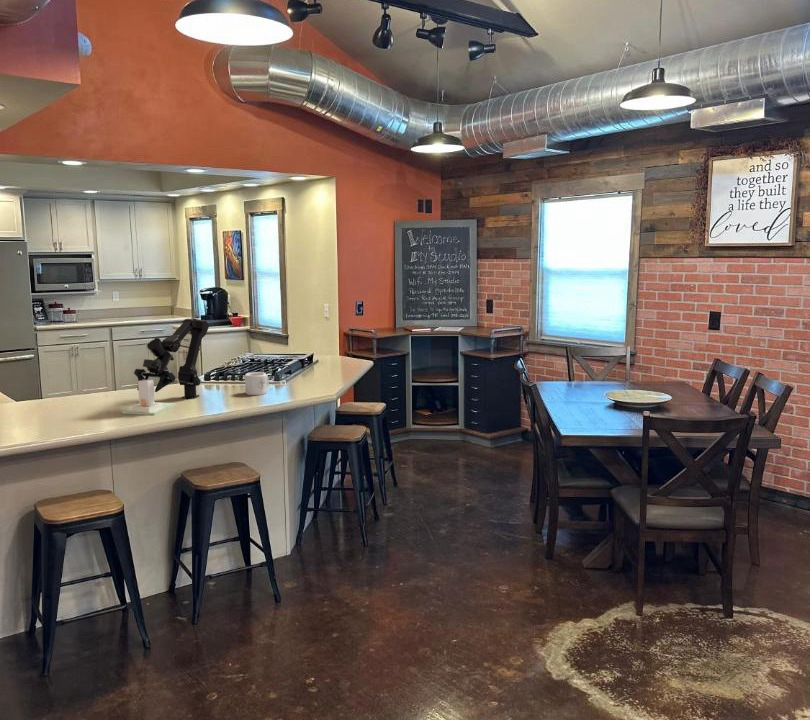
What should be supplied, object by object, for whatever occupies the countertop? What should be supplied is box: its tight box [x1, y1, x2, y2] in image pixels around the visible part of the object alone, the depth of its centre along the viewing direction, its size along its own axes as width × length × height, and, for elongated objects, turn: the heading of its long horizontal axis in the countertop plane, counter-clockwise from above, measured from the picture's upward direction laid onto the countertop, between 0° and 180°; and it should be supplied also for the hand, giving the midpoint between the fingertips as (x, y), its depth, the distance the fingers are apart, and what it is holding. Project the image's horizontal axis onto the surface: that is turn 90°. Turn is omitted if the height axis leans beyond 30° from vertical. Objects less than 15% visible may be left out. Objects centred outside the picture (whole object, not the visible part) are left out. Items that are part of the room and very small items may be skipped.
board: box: [121, 401, 176, 416], centre depth 309 cm, size 20×15×1 cm
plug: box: [137, 379, 155, 407], centre depth 303 cm, size 5×5×13 cm
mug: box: [244, 371, 269, 396], centre depth 347 cm, size 14×11×10 cm
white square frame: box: [130, 402, 163, 412], centre depth 305 cm, size 10×10×2 cm
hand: (146, 391), depth 304 cm, fingers open, 9 cm apart
